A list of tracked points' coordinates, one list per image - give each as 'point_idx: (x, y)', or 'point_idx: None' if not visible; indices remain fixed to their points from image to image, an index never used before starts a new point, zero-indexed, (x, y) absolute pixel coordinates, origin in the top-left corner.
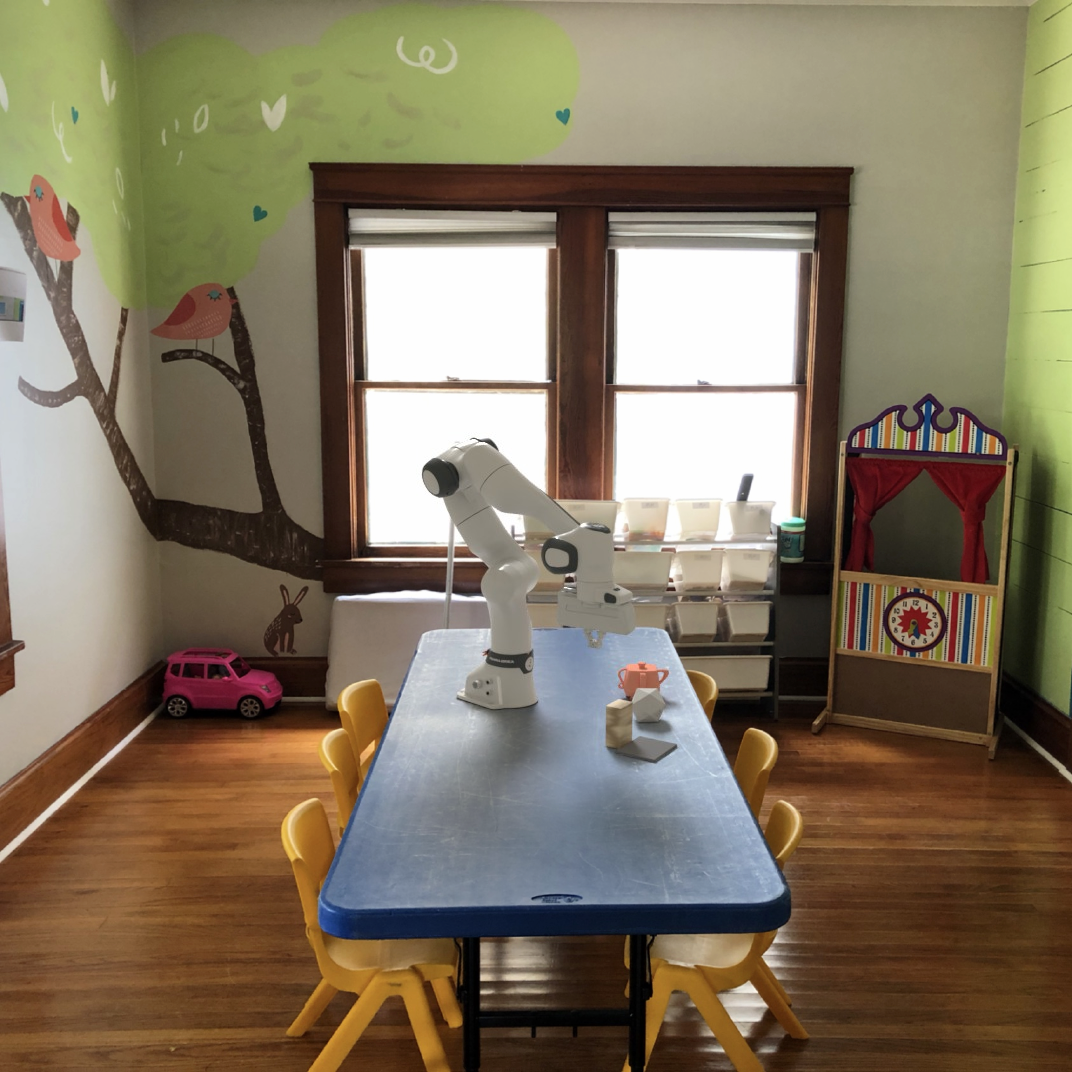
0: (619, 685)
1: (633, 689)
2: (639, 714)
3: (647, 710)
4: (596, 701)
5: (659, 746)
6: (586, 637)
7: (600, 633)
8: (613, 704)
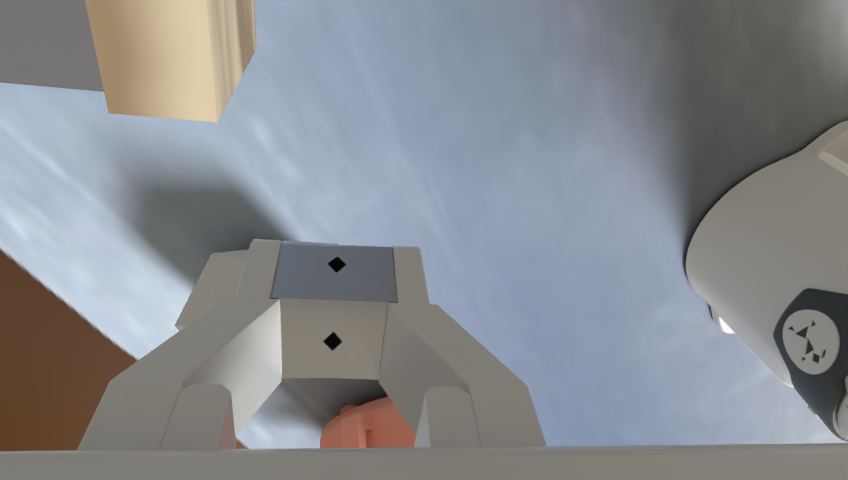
0: None
1: (391, 414)
2: None
3: (221, 266)
4: (495, 338)
5: (9, 11)
6: (457, 333)
7: (133, 422)
8: (176, 6)
